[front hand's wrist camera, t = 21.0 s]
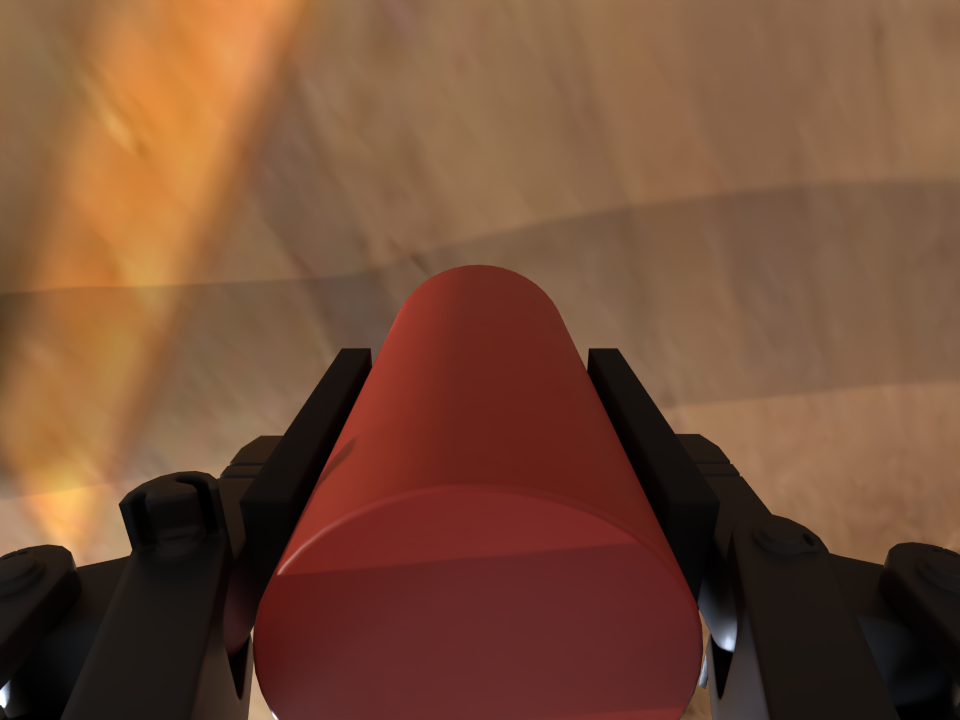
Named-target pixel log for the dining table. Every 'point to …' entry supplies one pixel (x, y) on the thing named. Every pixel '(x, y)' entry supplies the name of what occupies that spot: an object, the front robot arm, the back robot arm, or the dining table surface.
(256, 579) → the front robot arm
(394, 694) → the cylinder
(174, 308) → the dining table surface
